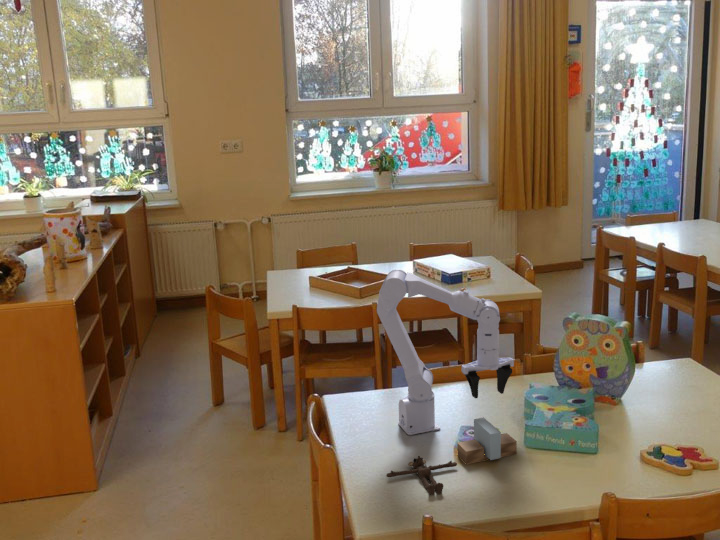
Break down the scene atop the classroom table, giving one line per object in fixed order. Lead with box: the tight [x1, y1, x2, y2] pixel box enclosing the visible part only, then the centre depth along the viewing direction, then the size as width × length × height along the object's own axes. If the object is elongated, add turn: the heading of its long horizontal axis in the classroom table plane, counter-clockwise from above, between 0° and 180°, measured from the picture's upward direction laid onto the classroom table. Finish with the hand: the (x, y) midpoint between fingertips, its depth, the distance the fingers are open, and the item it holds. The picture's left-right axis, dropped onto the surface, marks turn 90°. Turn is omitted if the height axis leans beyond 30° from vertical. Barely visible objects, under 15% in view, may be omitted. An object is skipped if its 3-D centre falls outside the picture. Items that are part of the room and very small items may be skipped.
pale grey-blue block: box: [473, 417, 502, 461], centre depth 190 cm, size 3×9×7 cm, turn 18°
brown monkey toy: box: [386, 455, 458, 496], centre depth 180 cm, size 18×4×14 cm
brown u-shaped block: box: [456, 432, 518, 465], centre depth 191 cm, size 14×5×4 cm, turn 108°
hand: (487, 394), depth 203 cm, fingers open, 7 cm apart
